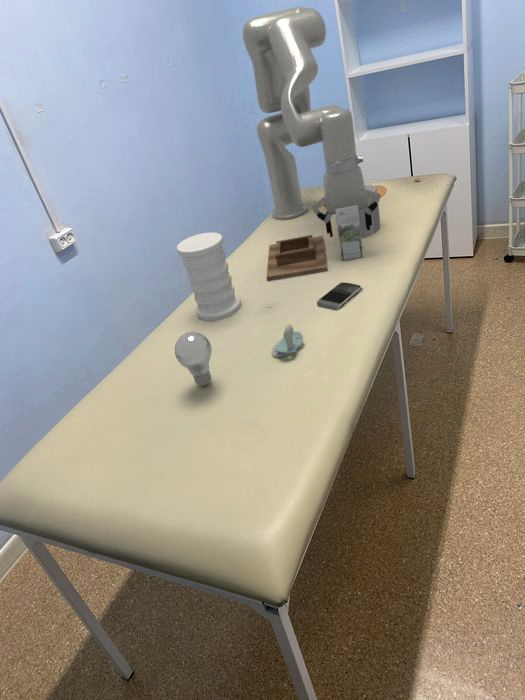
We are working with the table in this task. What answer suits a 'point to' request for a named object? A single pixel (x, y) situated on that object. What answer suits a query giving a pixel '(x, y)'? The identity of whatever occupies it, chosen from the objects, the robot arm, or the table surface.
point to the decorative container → (209, 276)
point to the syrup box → (349, 233)
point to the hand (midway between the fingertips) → (349, 231)
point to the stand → (296, 257)
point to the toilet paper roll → (374, 215)
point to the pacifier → (288, 342)
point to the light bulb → (195, 356)
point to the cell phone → (338, 296)
